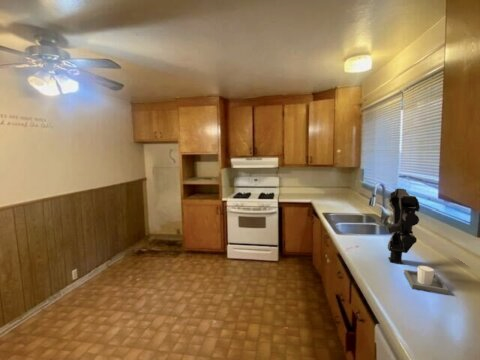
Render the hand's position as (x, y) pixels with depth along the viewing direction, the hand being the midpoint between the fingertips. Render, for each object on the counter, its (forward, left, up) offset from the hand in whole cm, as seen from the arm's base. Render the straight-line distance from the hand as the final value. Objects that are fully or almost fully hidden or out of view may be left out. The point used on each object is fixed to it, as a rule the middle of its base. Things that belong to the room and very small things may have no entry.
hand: (403, 249), depth 142 cm
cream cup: (+10, +8, -12) cm, 17 cm away
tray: (+10, +8, -12) cm, 18 cm away
